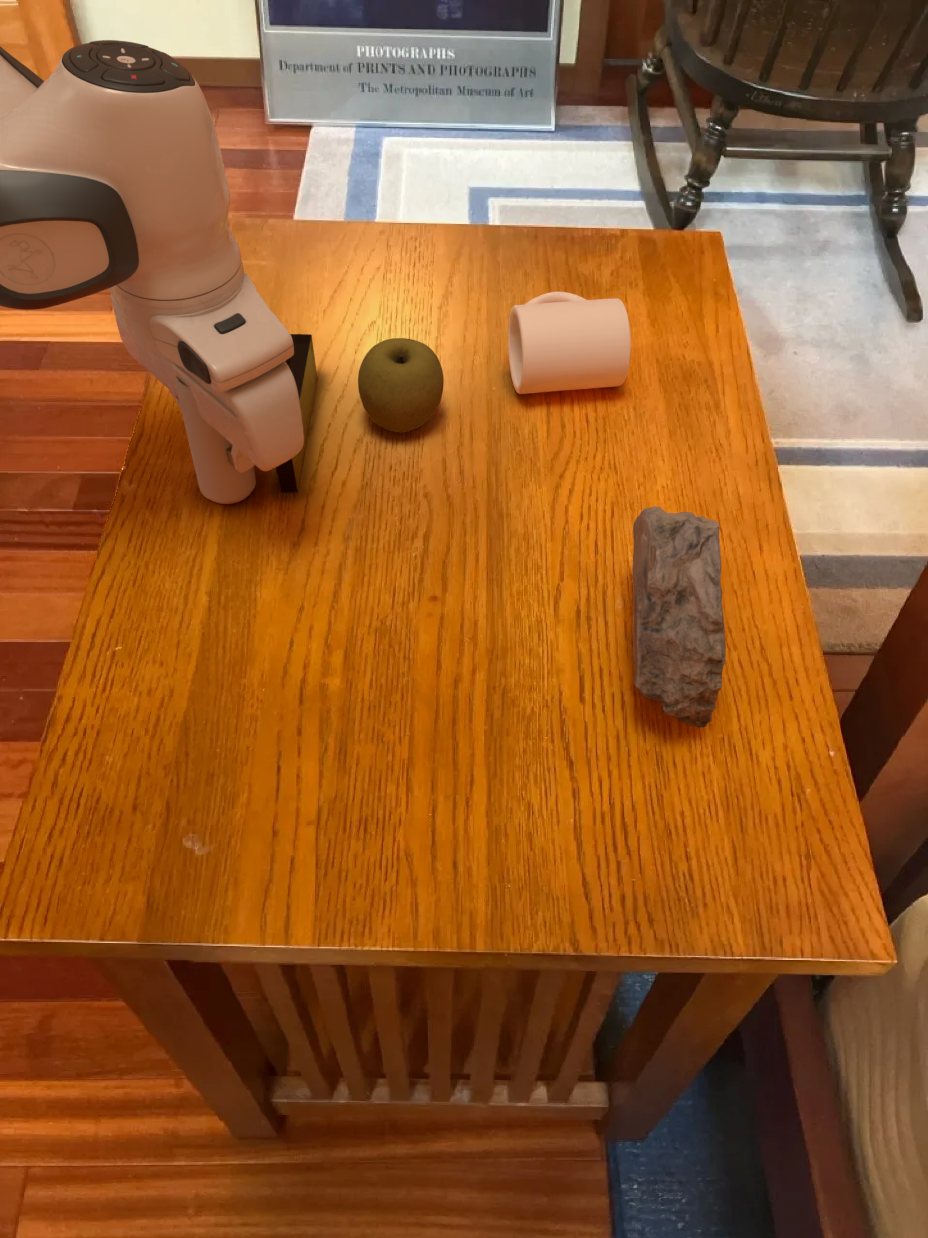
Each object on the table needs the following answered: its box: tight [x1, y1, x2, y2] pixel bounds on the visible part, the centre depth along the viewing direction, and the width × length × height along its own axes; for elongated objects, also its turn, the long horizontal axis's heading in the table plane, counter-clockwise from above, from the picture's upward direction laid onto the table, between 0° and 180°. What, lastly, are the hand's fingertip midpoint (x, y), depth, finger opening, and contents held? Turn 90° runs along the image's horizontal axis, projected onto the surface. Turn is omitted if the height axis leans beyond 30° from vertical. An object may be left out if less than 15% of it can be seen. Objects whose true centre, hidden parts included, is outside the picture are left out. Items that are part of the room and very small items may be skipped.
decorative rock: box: [632, 505, 727, 729], centre depth 65 cm, size 16×7×15 cm, turn 173°
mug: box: [507, 291, 632, 395], centre depth 88 cm, size 12×10×8 cm
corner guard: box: [275, 333, 318, 493], centre depth 83 cm, size 10×16×5 cm, turn 179°
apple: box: [357, 337, 445, 433], centre depth 84 cm, size 8×8×7 cm
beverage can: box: [176, 376, 257, 505], centre depth 76 cm, size 5×5×12 cm
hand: (222, 446), depth 77 cm, fingers closed on beverage can, 5 cm apart
